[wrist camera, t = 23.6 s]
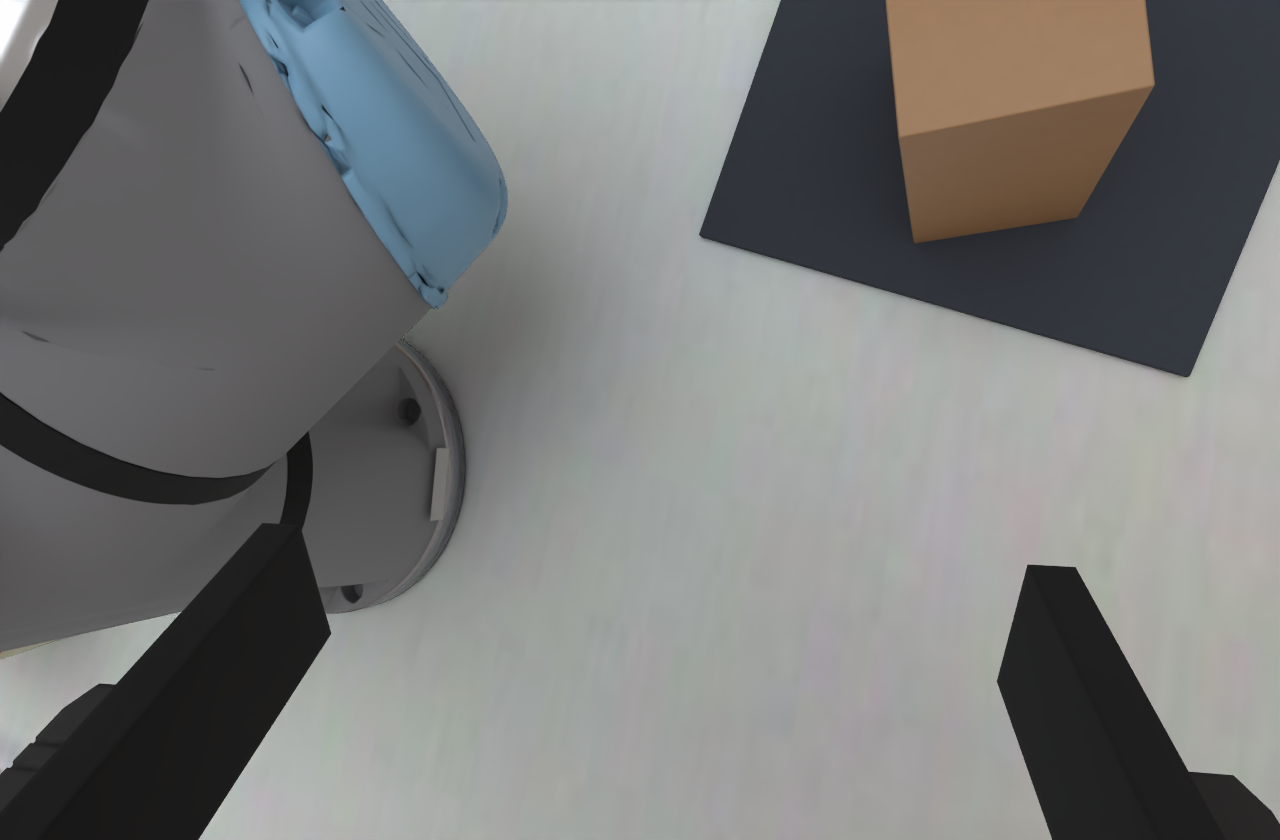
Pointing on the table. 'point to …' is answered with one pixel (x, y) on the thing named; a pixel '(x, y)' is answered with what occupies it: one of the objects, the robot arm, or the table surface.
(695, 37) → the table surface
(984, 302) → the desk mat
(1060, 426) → the table surface
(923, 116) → the carton
